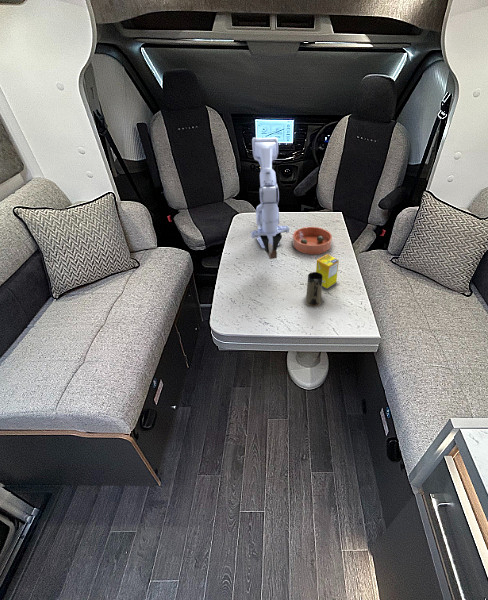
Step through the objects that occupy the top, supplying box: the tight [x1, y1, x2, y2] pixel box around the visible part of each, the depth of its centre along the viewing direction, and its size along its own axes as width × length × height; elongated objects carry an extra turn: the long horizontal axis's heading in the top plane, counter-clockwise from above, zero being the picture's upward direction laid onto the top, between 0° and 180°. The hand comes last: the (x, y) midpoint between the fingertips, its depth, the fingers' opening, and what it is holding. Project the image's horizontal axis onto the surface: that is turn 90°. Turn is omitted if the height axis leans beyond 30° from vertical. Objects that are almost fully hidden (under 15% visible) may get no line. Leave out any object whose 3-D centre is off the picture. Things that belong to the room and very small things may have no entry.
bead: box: [317, 236, 324, 243], centre depth 154 cm, size 3×3×3 cm
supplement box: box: [315, 253, 340, 291], centre depth 127 cm, size 6×6×11 cm
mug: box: [305, 271, 323, 307], centre depth 118 cm, size 8×6×12 cm
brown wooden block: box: [266, 244, 278, 260], centre depth 133 cm, size 7×3×3 cm, turn 20°
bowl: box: [292, 226, 333, 255], centre depth 152 cm, size 17×17×4 cm
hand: (270, 250), depth 133 cm, fingers closed on brown wooden block, 2 cm apart
